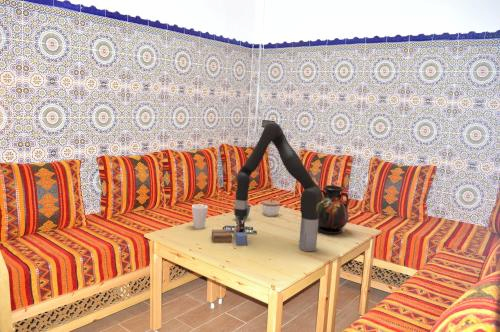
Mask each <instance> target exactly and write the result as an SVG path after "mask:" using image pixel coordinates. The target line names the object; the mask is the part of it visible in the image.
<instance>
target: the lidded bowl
mask: <svg viewBox="0 0 500 332" xmlns="http://www.w3.org/2000/svg"><path fill="white" fill-rule="evenodd" d="M261 206H262V207H261V208H262V212H263V214H264V215H265V216H267V217H275V216H276V215H277V214H279V212H280V208H281V202H280V201H278V200H275V199H274V200H273V199H265V200H262V202H261Z"/></svg>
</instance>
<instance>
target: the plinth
mask: <svg viewBox="0 0 500 332" xmlns="http://www.w3.org/2000/svg"><path fill="white" fill-rule="evenodd" d="M232 235H233V234H232V233H231V230H230V229H211V239H212V244H213V243H214V244H215V243H218V244H219V243H232V239H233V238H232V237H233V236H232Z"/></svg>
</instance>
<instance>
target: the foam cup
mask: <svg viewBox="0 0 500 332" xmlns="http://www.w3.org/2000/svg"><path fill="white" fill-rule="evenodd" d="M208 208H209V207H208V205H206V204H201V203H200V204H198V203H197V204H196V203H195V204H192V206H191V211H192V221H193V222H192V223H193V228H194V229H198V230H199V229H200V230H201V229H204V228H205V227H206V225H205V224H206V219H207V215H208V210H209V209H208Z"/></svg>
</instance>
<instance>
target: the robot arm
mask: <svg viewBox="0 0 500 332" xmlns="http://www.w3.org/2000/svg"><path fill="white" fill-rule="evenodd" d="M271 143H272V144H273V145H274V147H275V148H276V150H277V152H278V154H279V158H280V160H281V162H282V164H283V166H284V168H285V169H286V171H287V172H288V174H289V175H290V176H291V177H293V179H295V180H296V181H297V182H298V183H299V185H301V186H302V188H303V191H302V192H301V196H300V214H301V218H300V227H299V228H300V231H299V243H298V248H299V249H300V250H302V251H304V252H316V251H317V245H318V243H317V241H318V232H319V231H318V221H319V213H318V212H317V211H316V205H317V204H318V203H320V202H321V201H322V199H323V197H324V194H323V192H321V190H322V189H321V188H320V187H319V186H318V184H317V183H316V182H315V180H314V179H313V178H312V176H311V175H310V173H309V171H308V170H307V169H306V167H305V165H304V163H303V162H302V160H301V158H300V157H299V155H298V153H297V152H296V150H294V148H293V147H292V145H290V143H289V142H288V139H287V137H286V135H285V133H284V131H283V129H282V127H281V126H280V125H279V124H278V123H277V122H275V121H270V122H267V123H266V125H265V126H264V128H263V130H262V133H261V136H260V138H259V139H258V141H257V143H256V145H255V147H254V149H253V150H252V152H251V154H250V155H249V157H248V158H247V159H246V161H245V163H244V165H242V166H241V168H240V170H238V172H237V173H236V176H235V180H236V190H235V199H234V207H235V208H234V207H233V212H234V213H233V216H235V218H236V216H237V218H236V221H235V226H238V227H239V232H243V231H244V227H245V225H246V224H245V222H246V219H245V220H244V218H243V217H244V216H247V212H248V205H249V202H248V200H249V188H250V184H251V183H250V182H251V181H250V176H251V175H252V173H254V172H255V171H256V170H257V169H258V167H259V166H260V164H261V162H262V161H263V158H264V156H265V155H266V152H267V151H266V150H267V149H268V147H269V146H270V145H271ZM241 227H242V229H241Z"/></svg>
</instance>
